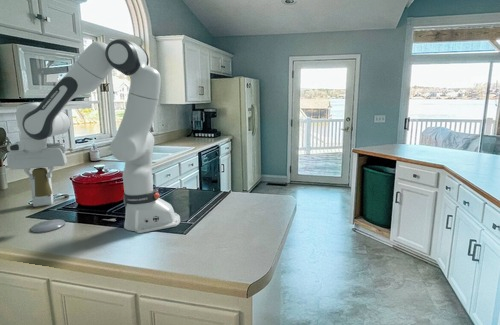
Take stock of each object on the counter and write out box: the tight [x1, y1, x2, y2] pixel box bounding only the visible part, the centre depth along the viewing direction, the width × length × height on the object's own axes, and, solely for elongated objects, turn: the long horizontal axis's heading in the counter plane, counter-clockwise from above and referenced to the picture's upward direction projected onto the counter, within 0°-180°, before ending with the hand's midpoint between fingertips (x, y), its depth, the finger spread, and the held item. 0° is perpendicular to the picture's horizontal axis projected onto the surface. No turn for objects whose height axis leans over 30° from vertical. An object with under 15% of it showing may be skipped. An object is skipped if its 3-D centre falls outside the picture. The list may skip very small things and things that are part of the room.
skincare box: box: [29, 177, 54, 207], centre depth 162 cm, size 8×6×15 cm
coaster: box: [30, 218, 66, 234], centre depth 134 cm, size 12×12×1 cm
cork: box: [31, 167, 53, 197], centre depth 130 cm, size 6×6×11 cm
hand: (40, 178), depth 130 cm, fingers closed on cork, 5 cm apart
